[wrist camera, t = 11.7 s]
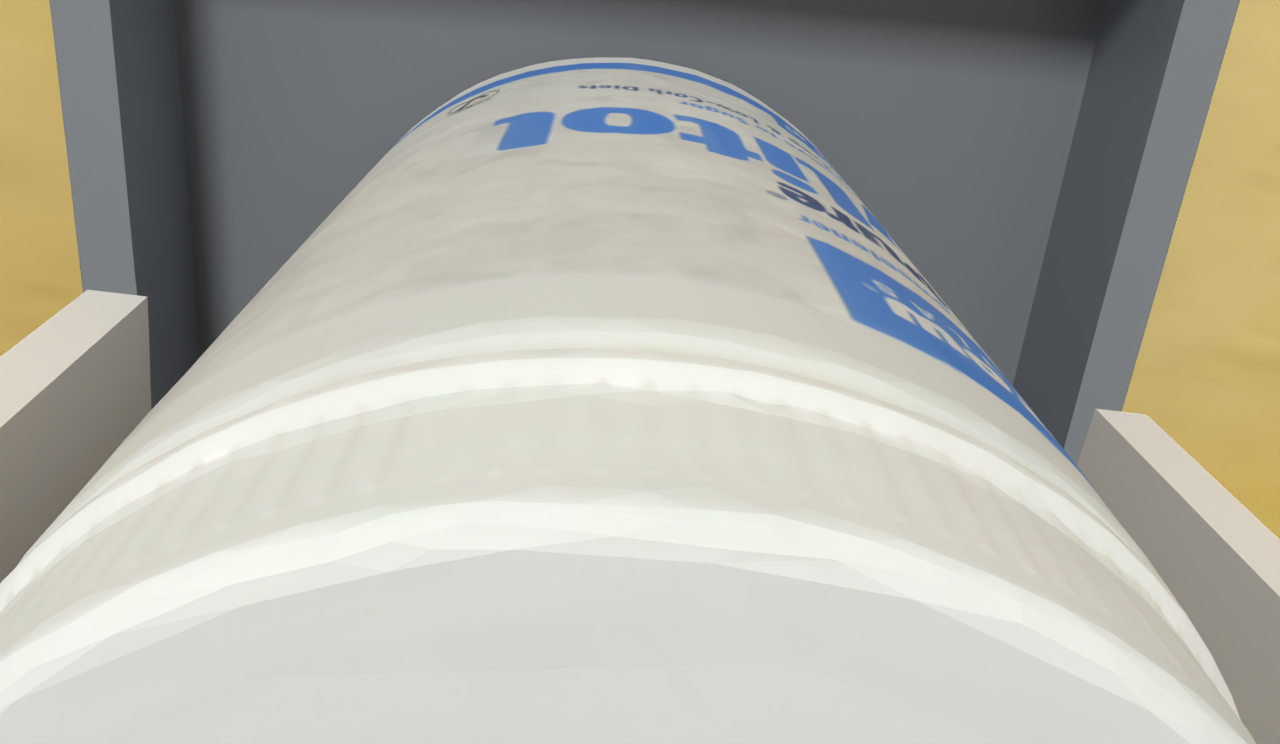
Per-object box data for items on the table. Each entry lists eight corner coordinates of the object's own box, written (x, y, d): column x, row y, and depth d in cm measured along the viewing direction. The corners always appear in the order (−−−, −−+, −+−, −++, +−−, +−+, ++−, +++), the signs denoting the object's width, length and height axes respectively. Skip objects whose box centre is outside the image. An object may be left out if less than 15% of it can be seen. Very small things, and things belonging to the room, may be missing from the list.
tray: (1161, -139, 18) (1282, -146, 15) (957, 675, 25) (1012, 791, 21) (127, -246, 17) (17, -279, 14) (198, 637, 24) (136, 754, 20)
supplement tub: (932, 107, 19) (1821, 660, 5) (794, 575, 22) (1100, 1622, 9) (354, -8, 18) (-446, 304, 4) (307, 503, 21) (-200, 1568, 8)
